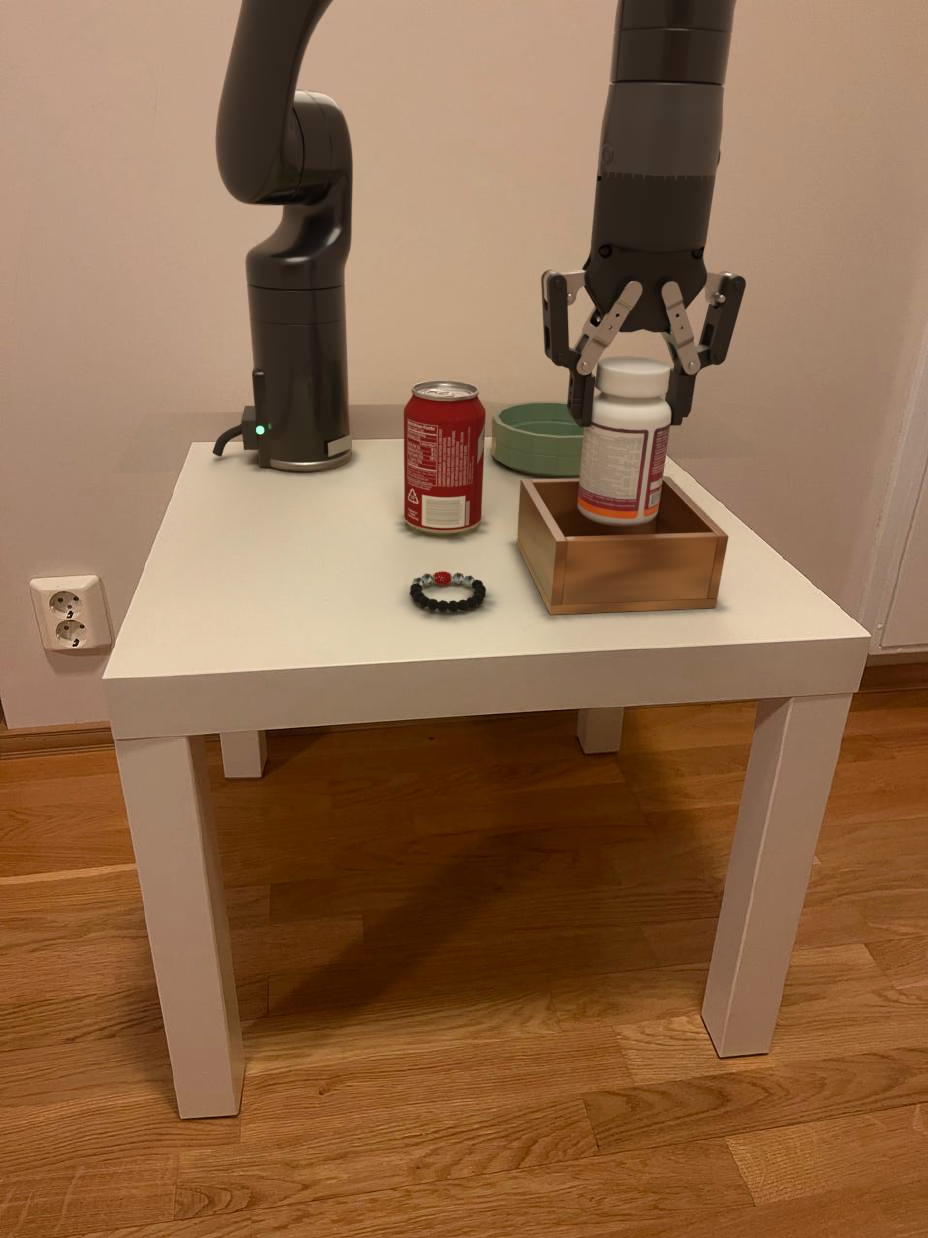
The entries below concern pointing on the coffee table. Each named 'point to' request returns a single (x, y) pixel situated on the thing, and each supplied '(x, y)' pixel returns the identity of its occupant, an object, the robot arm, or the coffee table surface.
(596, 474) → the pill bottle
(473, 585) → the bracelet
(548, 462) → the bowl
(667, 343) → the robot arm
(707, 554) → the holder
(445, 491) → the soda can
